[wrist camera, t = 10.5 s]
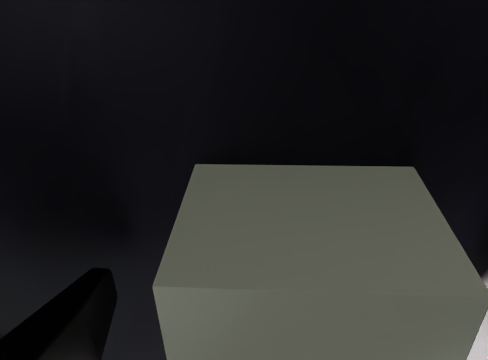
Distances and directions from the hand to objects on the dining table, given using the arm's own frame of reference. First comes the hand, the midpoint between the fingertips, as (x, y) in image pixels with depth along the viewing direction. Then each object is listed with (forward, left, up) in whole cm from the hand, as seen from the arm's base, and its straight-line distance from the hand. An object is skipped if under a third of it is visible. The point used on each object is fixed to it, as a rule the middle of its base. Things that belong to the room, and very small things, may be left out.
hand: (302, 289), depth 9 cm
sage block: (0, 0, -2) cm, 2 cm away
